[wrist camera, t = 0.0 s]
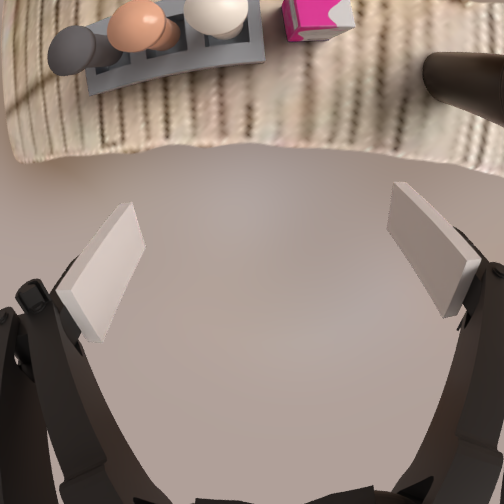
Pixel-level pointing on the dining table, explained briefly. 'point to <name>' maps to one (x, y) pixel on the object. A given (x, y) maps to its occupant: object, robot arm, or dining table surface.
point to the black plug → (80, 51)
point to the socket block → (180, 51)
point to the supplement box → (316, 19)
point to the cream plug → (216, 17)
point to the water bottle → (468, 82)
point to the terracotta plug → (142, 28)
